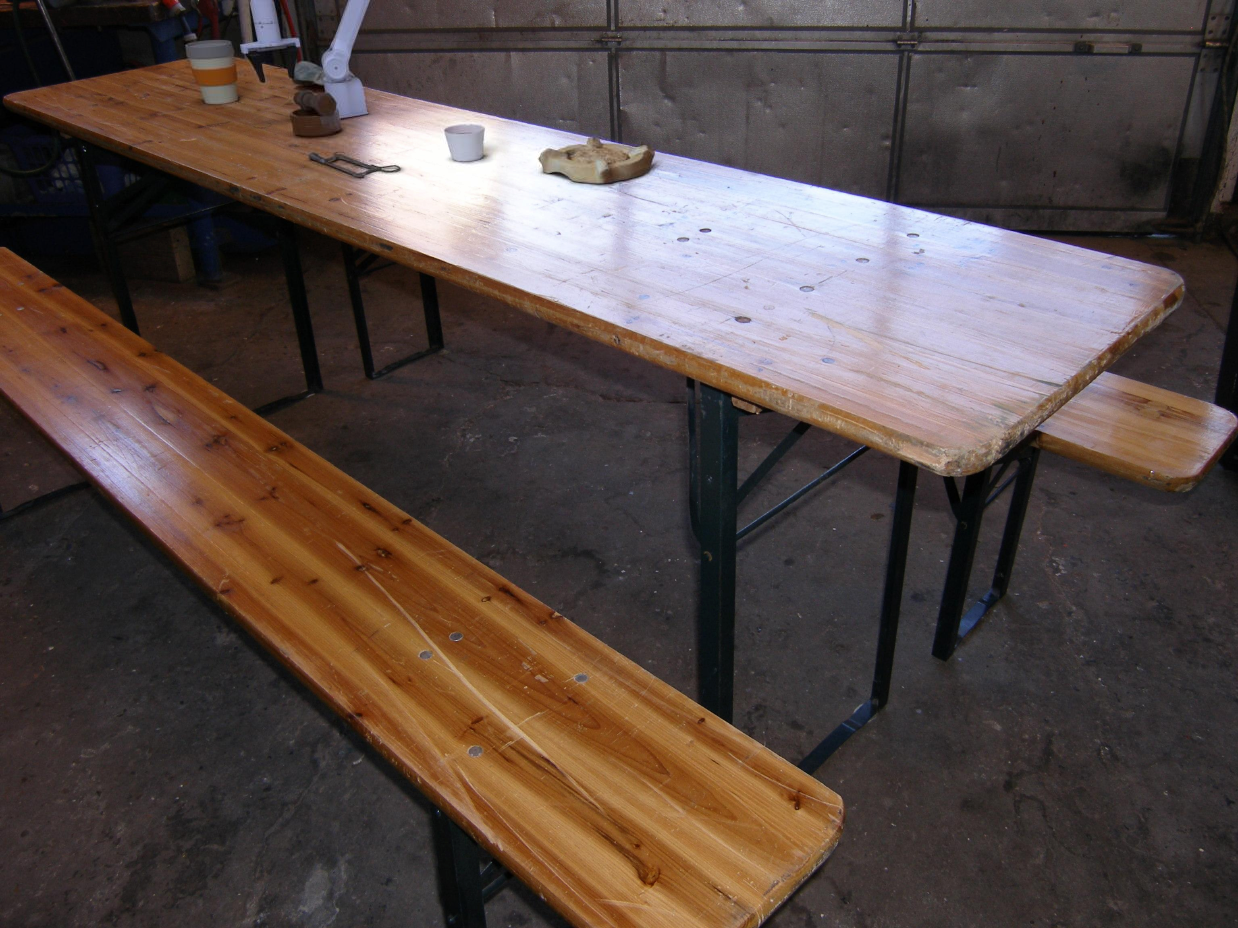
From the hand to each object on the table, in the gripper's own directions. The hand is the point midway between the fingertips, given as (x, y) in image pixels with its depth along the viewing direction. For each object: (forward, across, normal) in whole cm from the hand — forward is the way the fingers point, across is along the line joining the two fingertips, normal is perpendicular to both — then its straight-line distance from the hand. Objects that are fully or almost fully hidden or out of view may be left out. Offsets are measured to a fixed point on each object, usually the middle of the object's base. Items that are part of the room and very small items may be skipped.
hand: (277, 80), depth 247 cm
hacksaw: (+10, -4, -52) cm, 53 cm away
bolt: (+5, +1, -18) cm, 19 cm away
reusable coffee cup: (+10, -5, +36) cm, 38 cm away
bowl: (+10, +1, -18) cm, 21 cm away
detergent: (+10, +24, +28) cm, 39 cm away
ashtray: (+10, +34, -91) cm, 98 cm away
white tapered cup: (+10, +17, -64) cm, 67 cm away
